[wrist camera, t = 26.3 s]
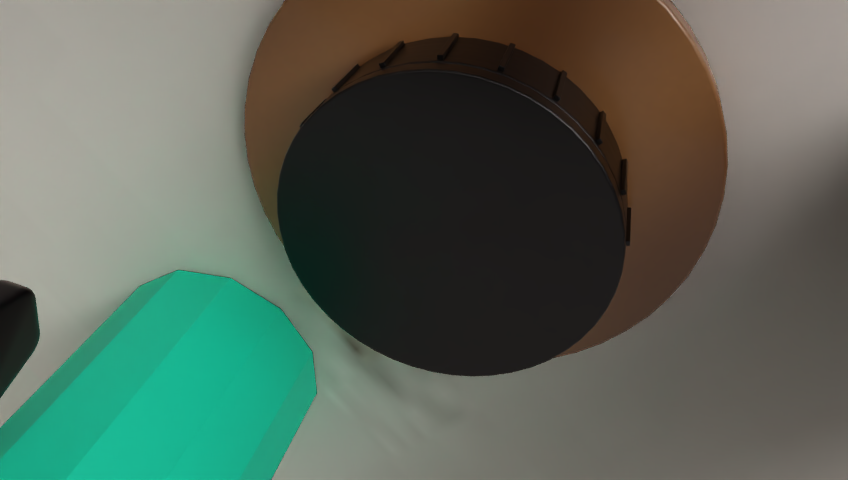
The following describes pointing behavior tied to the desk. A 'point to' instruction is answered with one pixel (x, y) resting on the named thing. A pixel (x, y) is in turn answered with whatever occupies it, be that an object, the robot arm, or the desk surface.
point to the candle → (169, 391)
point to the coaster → (563, 50)
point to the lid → (457, 207)
